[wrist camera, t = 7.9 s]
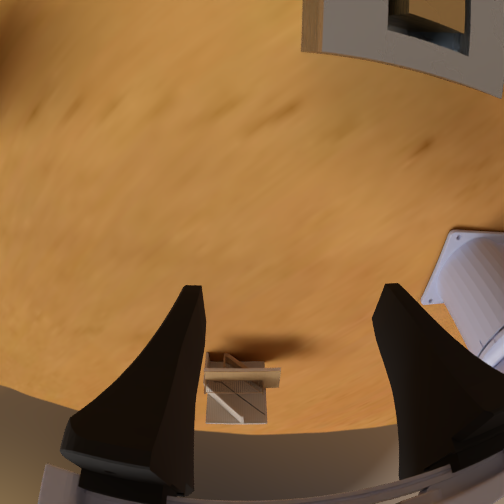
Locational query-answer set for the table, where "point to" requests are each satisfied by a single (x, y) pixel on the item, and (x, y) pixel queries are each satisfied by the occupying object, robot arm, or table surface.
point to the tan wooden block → (427, 15)
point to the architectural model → (237, 390)
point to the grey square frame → (411, 41)
